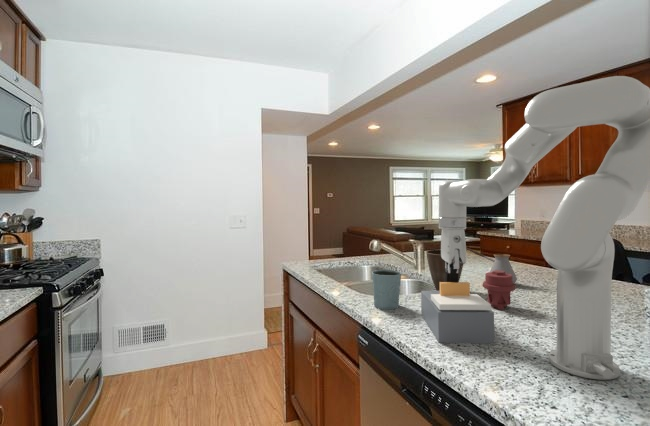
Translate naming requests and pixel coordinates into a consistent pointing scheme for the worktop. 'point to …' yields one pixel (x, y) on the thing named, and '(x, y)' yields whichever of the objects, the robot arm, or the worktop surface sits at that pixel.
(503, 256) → the coffee pot
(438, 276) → the plant pot
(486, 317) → the housing
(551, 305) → the worktop surface
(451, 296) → the lid
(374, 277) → the blue-grey cup
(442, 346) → the worktop surface
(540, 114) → the robot arm
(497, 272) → the mechanical component
